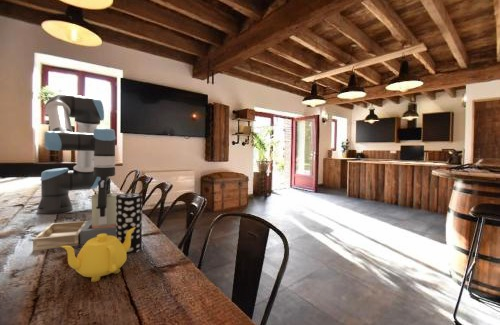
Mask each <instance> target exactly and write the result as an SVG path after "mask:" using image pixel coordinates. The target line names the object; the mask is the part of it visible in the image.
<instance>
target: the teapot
mask: <svg viewBox="0 0 500 325" xmlns="http://www.w3.org/2000/svg"><path fill="white" fill-rule="evenodd" d="M135 228H136V227H134V228H132V229H130V230H129V231H128V232H127V234H126V238H125V241H124V243H123V244H122V243H121V242H120V240H119V239H118V238H117V237H115V236H111V235H107V234H105V233H103V234H99V235H97V237H95V238H92V239H90V240H88V241H87V242H86V243H85V244H83V245H82V247H81V249H80V250H79V252H78V254H77V255H76V254H75V249H74V248H73V247H74V246H61V247H60V248H62V249H65V250H66V253H67V263H68V266H69V267H70V268H72V269H74V270H75V271H76V272H77V274H79V275H81V276H83V277H85V278H91V279H90V282H92V283H96V282H99V281H100V280H101V279H102V278H101V277H104V276H108V275H111V274H115V275H116V274H119V273H121V271H122V270H121V267H122V266H123V265H124V264H125V263H126V261H127V258H128V257H127V255H128V254H126V253H127V252H128V250H129V249H130V246H131V234H132V232H133V230H134V229H135Z"/></svg>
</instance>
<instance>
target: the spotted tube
mask: <svg viewBox="0 0 500 325" xmlns="http://www.w3.org/2000/svg"><path fill="white" fill-rule="evenodd" d="M134 227H136V228H135V229H134V230H133V232H132V234H131V246H130V249H129V250H128V252H127V253H126V254H127V255H132V254H135V253H138V252H140V251H141V250H142V248H143V247H142V246H143V245H142V244H143V242H142V241H143V240H142V239H143V238H142V237H143V194H142V193H137V192H134V193H133V192H129V193H122V194H121V193H120V194H117V196H116V237H117V238H118V239H119V240H120V242H121V243H122V244H123V243H124V241H125V238H126V234H127V232H128V231H129V230H130V229H132V228H134Z"/></svg>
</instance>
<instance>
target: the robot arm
mask: <svg viewBox="0 0 500 325" xmlns="http://www.w3.org/2000/svg"><path fill="white" fill-rule="evenodd" d="M44 111H45V113H46V115H47V116H48V125H49V130H47V131H45V132H44V149H46V150H48V151H56V152H58V151H71V152H72V151H74V152H77V153H76V164H75V165H74V166H73V167H72V168H73V170H70V169H69V168H68V167H60V168H59V167H58V168H52V169H50V168H49V169H46V170H44V171H41V175H40V176H41V177H40V181H41V184H40V187H41V190H40V192H41V194H40V201H39V203H38V205H37V209H36V210H37V211H36V213H37V214H41V215H49V214H50V215H51V214H61V213H65V212H69V211H71V210H73V202H72V201H71V198H70V195H69V192H73V191H83V190H84V191H85V190H87V191H90V190H95V189H97V188H98V207H96V209H99V225H101V224H107V208H106V207H107V206H106V203H107V194H109V193H111V182H112V181H111V177H114V176H115V175H116V167H115V166H116V140H117V136H116V131H115V129H112V128H101V127H98V126H99V125H100V124H101V122H102V121H104V119H105V111H104V105H103V102H102V100H101V99H99V98H96V97H95V98H94V97H93V96H92V97H91V96H84V95H83V96H82V95H74V94H70V93H69V94H67V93H61V94H57V95H55V96H52V97H51V98H49V99H48V100H47V101H46V102H45V106H44ZM71 118H73V119H74V122H75V123H76V124H77V132H73V131H74V130H73V127H72V123H71V120H70V119H71ZM101 204H104V205H101Z"/></svg>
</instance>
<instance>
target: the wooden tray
mask: <svg viewBox="0 0 500 325" xmlns="http://www.w3.org/2000/svg"><path fill="white" fill-rule="evenodd" d="M87 221H88V220H82V221H81V220H80V221H68V222H57V223H56V222H55V223H54V222H53V223H50V224H49V225H47V227H45V229H43V230H42V231H41V232H40V233H38V234H37V235H36V236H35V237H34V238H33V239H32V251H39V250H40V251H41V250H48V249H59V248H62V247H61V246H71V247H77V246H79V245H80V231H81V230H82V228H83V227H84V225H85V224H86V223H87Z"/></svg>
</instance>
